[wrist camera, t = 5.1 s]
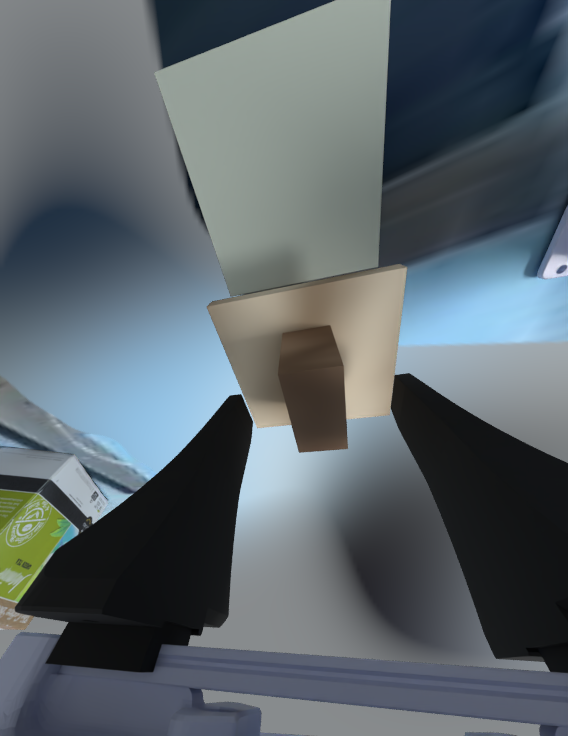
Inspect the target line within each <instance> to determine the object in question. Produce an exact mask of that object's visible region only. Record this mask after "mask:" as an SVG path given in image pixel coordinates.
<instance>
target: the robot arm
mask: <svg viewBox="0 0 568 736" xmlns="http://www.w3.org/2000/svg"><path fill="white" fill-rule="evenodd" d="M559 267H560V268H559ZM558 268H559V270H557V269H558ZM537 276H538V277H539V278H541V279H552V278H557V277H563V276H568V205H567V207H566V210H565V212H564V214H563V216H562V219H561V221H560V223H559V225H558V227H557V230H556V232H555V234H554V236H553V239H552V241H551V243H550V245H549V248H548V250H547V252H546V254H545V256H544V259H543V261H542V263H541V265H540V268H539V270H538V272H537ZM391 410H392V412H393V415H394V418H395V420H396V423H397V426H398V428H399V430H400V432H401V434H402V436H403V438H404V440H405V441H406V443H407V445H408V447H409V449H410V451H411V453H412V455H413V456H414V458H415V460H416V462H417V464H418V466H419V468H420V469H421V472H422V473H423V475H424V477H425V479H426V481H427V483H428V485H429V488H430V490H431V492H432V495H433V497H434V500H435V502H436V504H437V507H438V509H439V511H440V513H441V516H442V519H443V521H444V524H445V526H446V529H447V531H448V534H449V537H450V539H451V542H452V544H453V547H454V549H455V552H456V555H457V558H458V560H459V563H460V566H461V568H462V571H463V574H464V576H465V579H466V582H467V585H468V588H469V590H470V593H471V596H472V599H473V602H474V605H475V608H476V611H477V613H478V617H479V619H480V623H481V626H482V629H483V632H484V634H485V637H486V639H487V641H488V643H489V645H490V648H491V650H492V652H493V654H494V656H495V658H496V659H510V660H525V661H540V662H545V663H546V665H547V666H548V668H549V670H550V672H543V671H529V670H515V669H501V668H487V667H473V666H459V665H444V664H431V663H417V662H403V661H389V660H375V659H361V658H347V657H333V656H319V655H305V654H291V653H277V652H262V651H248V650H235V649H221V648H206V647H192V646H188V643H189V639H190V636H191V635H197V636H200V635H201V634H202V631H203V627H218V628H219V627H220V626H221V625H222V624H223V623H224V622H225V621H226V619H227V617H228V614H229V596H230V578H231V566H232V555H233V543H234V534H235V525H236V516H237V508H238V500H239V494H240V488H241V484H242V479H243V475H244V470H245V466H246V462H247V457H248V453H249V448H250V444H251V437H252V427H253V421H252V418H251V416H250V414H249V412H248V409H247V407H246V405H245V402H244V400H243V397H242V395H241V394H240V395H231V396H229V397H228V398H227V399H226V401H225V402H224V403H223V404H222V405H221V407H220V408H219V409H218V410H217V411H216V413H215V414H214V415H213V416H212V418H211V419H210V420H209V421H208V422H207V423H206V425H205V426H204V427H203V428H202V429H201V430H200V431H199V433H198V434H197V435H196V436H195V437H194V438H193V439H192V440H191V441H190V442H189V443H188V445H187V446H186V447H185V448H184V449H183V450H182V451H181V452H180V453H179V454H178V455H177V456H176V457H175V458H174V459H173V460H172V461H171V462H170V463H169V464H167V465H166V466H165V467H164V468H163V469H162V470H161V471H160V472H159V473H158V474H156V475H155V476H154V477H153V478H152V479H151V480H149V481H148V482H147V483H146V484H145V485H144V486H142V487H141V488H140V489H139V490H138V491H136V492H135V493H134V494H133V495H131V496H130V497H129V498H128V499H126V500H125V501H124V502H123V503H121V504H120V505H119V506H117V507H116V508H115V509H113V510H112V511H111V512H109V513H108V514H107V515H105V516H104V517H103V518H101V519H100V520H98V521H97V522H96V523H94V524H93V525H91V526H90V527H88V528H87V529H86V530H84V531H83V532H81V533H80V534H78V535H77V536H75V537H74V538H73V539H71V540H70V541H68V542H67V543H65V544H64V545H62V546H61V547H59V548H58V549H57V550H56V551H55V552H54V553H53V555H52V556H51V557H50V559H49V560H48V562H47V563H46V564H45V566H44V567H43V569H42V570H41V571H40V573H39V574H38V576H37V577H36V578H35V580H34V581H33V583H32V584H31V585H30V587H29V588H28V590H27V591H26V592H25V594H24V595H23V597H22V598H21V599H20V601H19V602H18V604H17V605H16V606H15V612H17V613H20V614H24V615H30V616H35V617H41V618H47V619H53V620H60V621H65V622H68V624H67V626H66V628H65V629H64V631H63V633H62V635H56V634H44V633H29V632H21V633H19V634H17V635H16V637H15V638H14V640H13V641H12V643H11V644H10V645H9V647H8V648H7V650H6V652H5V653H4V654H3V656H2V657H1V659H0V736H308V735H292V734H276V733H261V732H260V726H261V710H260V708H258V707H254V706H250V705H246V704H242V703H236V702H217V703H206V704H205V703H204V700H203V693H202V691H201V689H205V690H215V691H224V692H234V693H243V694H254V695H263V696H272V697H282V698H292V699H302V700H311V701H320V702H330V703H339V704H349V705H359V706H368V707H377V708H388V709H396V710H407V711H415V712H425V713H435V714H444V715H455V716H463V717H474V718H482V719H492V720H502V721H511V722H521V723H530V724H540V729H539V732H540V736H568V463H566V462H564V461H562V460H560V459H557V458H555V457H553V456H551V455H549V454H546V453H545V452H542V451H540V450H538V449H536V448H534V447H532V446H530V445H528V444H526V443H524V442H522V441H520V440H518V439H516V438H514V437H512V436H510V435H509V434H507V433H505V432H503V431H501V430H499V429H497V428H495V427H493V426H492V425H490V424H488V423H486V422H485V421H483V420H481V419H479V418H478V417H476V416H474V415H473V414H471V413H469V412H468V411H466V410H464V409H463V408H461V407H459V406H458V405H456V404H455V403H453V402H451V401H450V400H448V399H447V398H445V397H444V396H442V395H441V394H439V393H438V392H436V391H435V390H433V389H432V388H430V387H429V386H427V385H426V384H425V383H423V382H422V381H420V380H419V379H417V378H416V377H414V376H413V375H411V374H409V373H408V374H400V375H395V376H394V384H393V393H392V401H391ZM465 736H516V735H510V734H504V733H491V732H489V733H488V732H483V733H482V732H465Z"/></svg>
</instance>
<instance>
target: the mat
mask: <svg viewBox="0 0 568 736" xmlns="http://www.w3.org/2000/svg"><path fill="white" fill-rule="evenodd" d="M390 4H391V0H336V1H333V2H331V3H328V4H326V5H323V6H321V7H318V8H315V9H313V10H310V11H308V12H305V13H303V14H300V15H298V16H295V17H293V18H290V19H288V20H285V21H283V22H280V23H278V24H275V25H273V26H270V27H268V28H265V29H263V30H260V31H258V32H255V33H252V34H250V35H247V36H245V37H242V38H240V39H237V40H235V41H232V42H230V43H227V44H225V45H222V46H220V47H217V48H215V49H212V50H210V51H207V52H205V53H202V54H200V55H197V56H195V57H192V58H189V59H187V60H184V61H182V62H179V63H177V64H174V65H172V66H169V67H167V68H164V69H162V70H159V71H157V72H154V74H155V77H156V80H157V83H158V85H159V89H160V92H161V94H162V97H163V100H164V103H165V106H166V109H167V112H168V115H169V118H170V121H171V124H172V127H173V129H174V132H175V135H176V138H177V141H178V144H179V147H180V150H181V153H182V156H183V159H184V162H185V164H186V167H187V170H188V173H189V176H190V179H191V182H192V185H193V188H194V191H195V194H196V197H197V199H198V202H199V205H200V208H201V211H202V214H203V217H204V220H205V223H206V226H207V229H208V232H209V234H210V237H211V240H212V243H213V246H214V249H215V252H216V255H217V258H218V261H219V264H220V267H221V269H222V272H223V275H224V278H225V281H226V284H227V287H228V290H229V293H230V296H236V295H241V294H246V293H251V292H256V291H261V290H266V289H271V288H276V287H281V286H286V285H291V284H296V283H301V282H306V281H311V280H316V279H321V278H326V277H331V276H336V275H341V274H345V273H350V272H355V271H360V270H365V269H370V268H375V267H378V258H379V237H380V216H381V195H382V174H383V152H384V131H385V110H386V89H387V68H388V47H389V26H390Z"/></svg>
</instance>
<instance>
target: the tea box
mask: <svg viewBox="0 0 568 736" xmlns="http://www.w3.org/2000/svg"><path fill="white" fill-rule="evenodd" d="M107 504H108V500H107V499H106V498H105V497H104V496H103V495H102V493H101V492H100V490H99V489H98V487H97V486H96V485H95V484H94V482H93V481H92V479H91V478H90V476H89V475H88V474H87V472H86V471H85V469H84V468H83V466H82V465H81V463H80V462H79V460H78V458H77V457H76V456H75V455H74V454H66V453H58V452H50V451H40V450H31V449H22V448H11V447H2V448H0V630H2V629H3V630H4V629H16V630H18V629H19V630H24V629H26V628H27V626H28V625H29V623H30V622H31V620H32V619H33V617H34V616H30V615H24V614H20V613H17V612H15V606H16V605H17V604H18V602H19V601H20V599H21V598H22V597H23V595H24V594H25V592H26V591H27V590H28V588H29V587H30V585H31V584H32V583H33V581H34V580H35V578H36V577H37V576H38V574H39V573H40V571H41V570H42V569H43V567H44V566H45V564H46V563H47V562H48V560H49V559H50V557H51V556H52V555H53V553H54V552H55V551H56V550H57V549H58V548H59V547H61V546H62V545H64V544H65V543H67V542H68V541H70V540H71V539H73V538H74V537H75V536H77V535H78V534H80V533H81V532H83V531H84V530H86V529H87V528H88V527H90V526H91V525H93V524H94V523H96V521H97V520H98V518H99V517H100V515H101V514H102V512H103V510H104V509H105V507H106V506H107Z"/></svg>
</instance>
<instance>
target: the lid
mask: <svg viewBox="0 0 568 736" xmlns="http://www.w3.org/2000/svg"><path fill="white" fill-rule="evenodd" d="M406 274H407V267H406V266H403V265H401V264H397V265H392V266H387V267H382V268H377V269H372V270H367V271H362V272H357V273H352V274H347V275H342V276H337V277H332V278H327V279H322V280H317V281H312V282H307V283H302V284H297V285H292V286H287V287H282V288H277V289H272V290H267V291H262V292H257V293H252V294H247V295H242V296H237V297H232V298H227V299H222V300H217V301H212V302H211V303H210V304H209V305H208V306H207V309H208V311H209V314H210V316H211V319H212V321H213V323H214V325H215V328H216V330H217V333H218V335H219V337H220V340H221V342H222V345H223V347H224V350H225V352H226V354H227V357H228V359H229V362H230V364H231V366H232V369H233V371H234V373H235V376H236V378H237V380H238V383H239V385H240V388H241V390H242V393H243V395H244V397H245V400H246V402H247V405H248V407H249V409H250V412H251V414H252V416H253V419H254V421H255V423H256V426H257V428H264V427H273V426H284V425H292V428H293V432H294V436H295V439H296V443H297V446H298V450H299V452H313V451H325V450H339V449H348V444H347V424H346V423H347V422H346V419H355V418H366V417H376V416H386V415H390V407H391V399H392V391H393V382H394V374H395V366H396V357H397V349H398V341H399V333H400V324H401V316H402V308H403V299H404V291H405V283H406Z"/></svg>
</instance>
